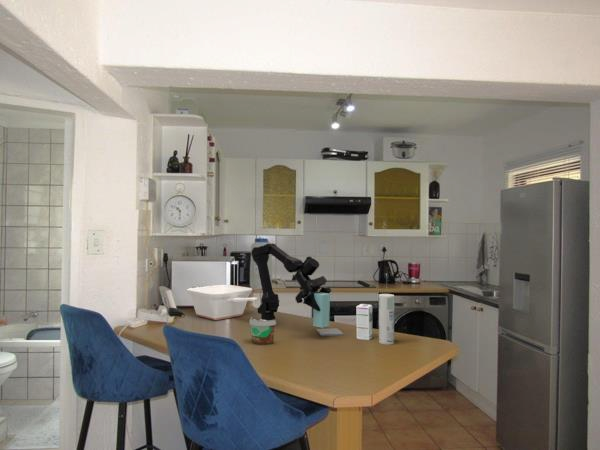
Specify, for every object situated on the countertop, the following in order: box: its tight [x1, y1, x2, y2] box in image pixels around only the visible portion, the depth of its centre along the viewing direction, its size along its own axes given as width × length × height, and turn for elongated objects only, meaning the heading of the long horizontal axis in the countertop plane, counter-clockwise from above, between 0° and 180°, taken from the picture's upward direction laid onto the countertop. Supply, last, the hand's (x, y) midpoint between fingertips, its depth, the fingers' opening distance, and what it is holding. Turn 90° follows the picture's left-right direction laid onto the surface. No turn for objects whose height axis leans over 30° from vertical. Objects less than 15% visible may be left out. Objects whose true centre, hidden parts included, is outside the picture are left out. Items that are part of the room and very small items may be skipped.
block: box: [312, 292, 331, 329], centre depth 181 cm, size 5×5×14 cm
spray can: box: [378, 293, 395, 345], centre depth 175 cm, size 6×6×20 cm
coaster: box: [316, 327, 344, 337], centre depth 190 cm, size 10×10×1 cm
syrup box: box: [355, 303, 374, 341], centre depth 182 cm, size 6×6×14 cm
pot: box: [186, 284, 258, 321], centre depth 220 cm, size 29×44×15 cm, turn 47°
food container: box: [248, 316, 277, 346], centre depth 172 cm, size 12×6×10 cm, turn 62°
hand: (323, 310), depth 180 cm, fingers closed on block, 5 cm apart
